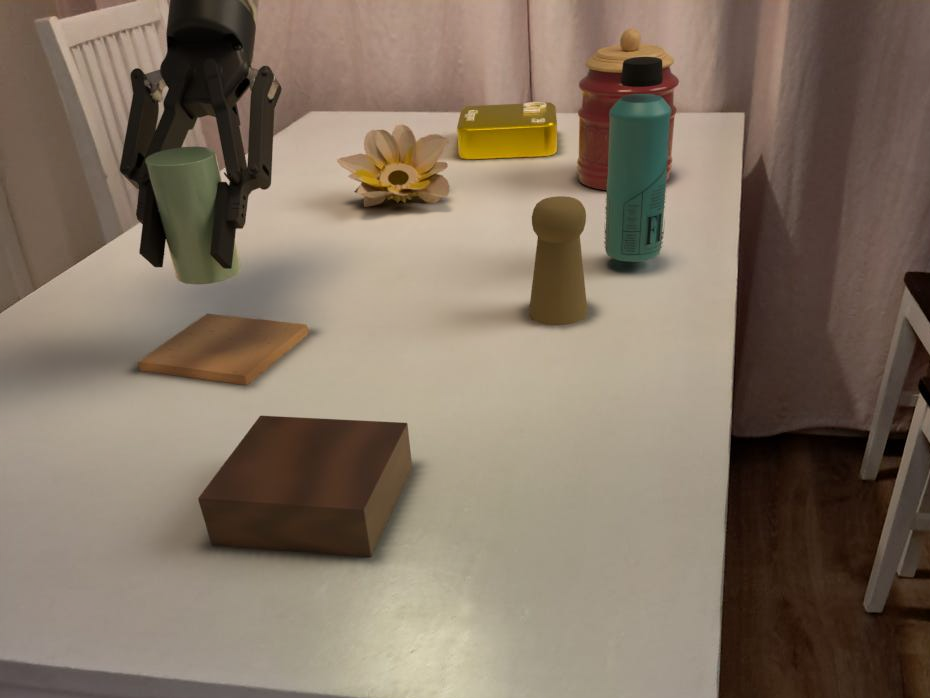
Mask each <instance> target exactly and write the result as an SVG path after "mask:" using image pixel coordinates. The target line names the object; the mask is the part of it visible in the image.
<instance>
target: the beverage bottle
mask: <svg viewBox="0 0 930 698" xmlns="http://www.w3.org/2000/svg"><path fill="white" fill-rule="evenodd" d="M662 81H663V74H662V60H661V59H660V58H656V57H634V58H629V59H626V60H625V61H624V62H623V67H622V75H621V84H622V85H624V86H629V87H649V86H655V85H659V84H661V83H662ZM670 115H671V108H670V106H669V105H668V104H667V102H666V101H665V100H664V99H663V98H662V97H661V96H659V95H654V94H632V95H626V96H623V97H621V98H620V99H619V100H618V101H617V102H616V103H615V104H614V105H613V107H612V108H611V109H610V112H609V117H610V126H609V155H608V175H607V176H608V178H607V190H606V191H605V192H606V196H605V201H604V203H605V207H604V209H605V210H604V215H605V221H604V224H605V225H604V226H603V227H604V236H603V238H604V240H603V244H604V250H605V253H606V255H607V256H608V257H609V258H611V259H614V260H617V261H621V262H643V261H648V260H652V259H654V258H656V257H658V256H659V255H660V253H661V250H662V248H663V246H662V245H663V244H664V241H663V240H664V234H665V229H664V224H665V222H666V221H665V219H664V218H665V211H666V209H665V208H666V206H665V204H666V202H667V200H666V199H667V197H666V196H667V195H666V191H667V181H666V175H667V165H669V164H667V161H668V145H669V143H668V141H669V126H670ZM669 150H670V148H669ZM605 186H606V185H605Z"/></svg>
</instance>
